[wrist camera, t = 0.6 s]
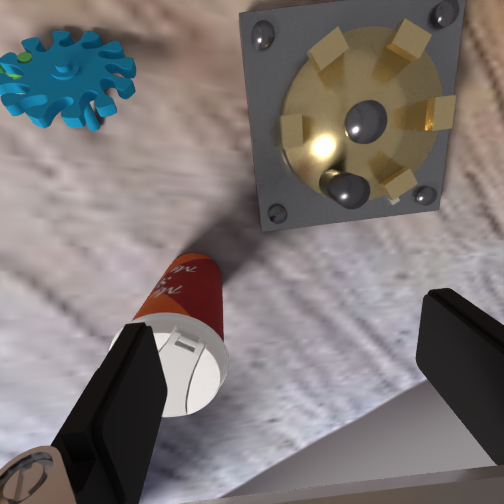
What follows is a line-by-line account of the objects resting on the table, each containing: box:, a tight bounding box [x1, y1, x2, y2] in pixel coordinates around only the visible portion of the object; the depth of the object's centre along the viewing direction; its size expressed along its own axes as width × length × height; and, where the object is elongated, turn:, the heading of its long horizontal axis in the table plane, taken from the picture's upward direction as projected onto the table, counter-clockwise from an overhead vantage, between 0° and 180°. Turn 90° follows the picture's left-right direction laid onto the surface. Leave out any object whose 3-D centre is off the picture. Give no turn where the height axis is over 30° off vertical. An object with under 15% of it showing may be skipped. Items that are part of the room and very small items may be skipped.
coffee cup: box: [109, 253, 229, 417], centre depth 26 cm, size 8×8×15 cm
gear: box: [0, 31, 136, 131], centre depth 24 cm, size 11×6×10 cm
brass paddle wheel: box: [279, 18, 456, 209], centre depth 23 cm, size 13×13×7 cm
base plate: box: [239, 0, 465, 232], centre depth 27 cm, size 18×18×3 cm
